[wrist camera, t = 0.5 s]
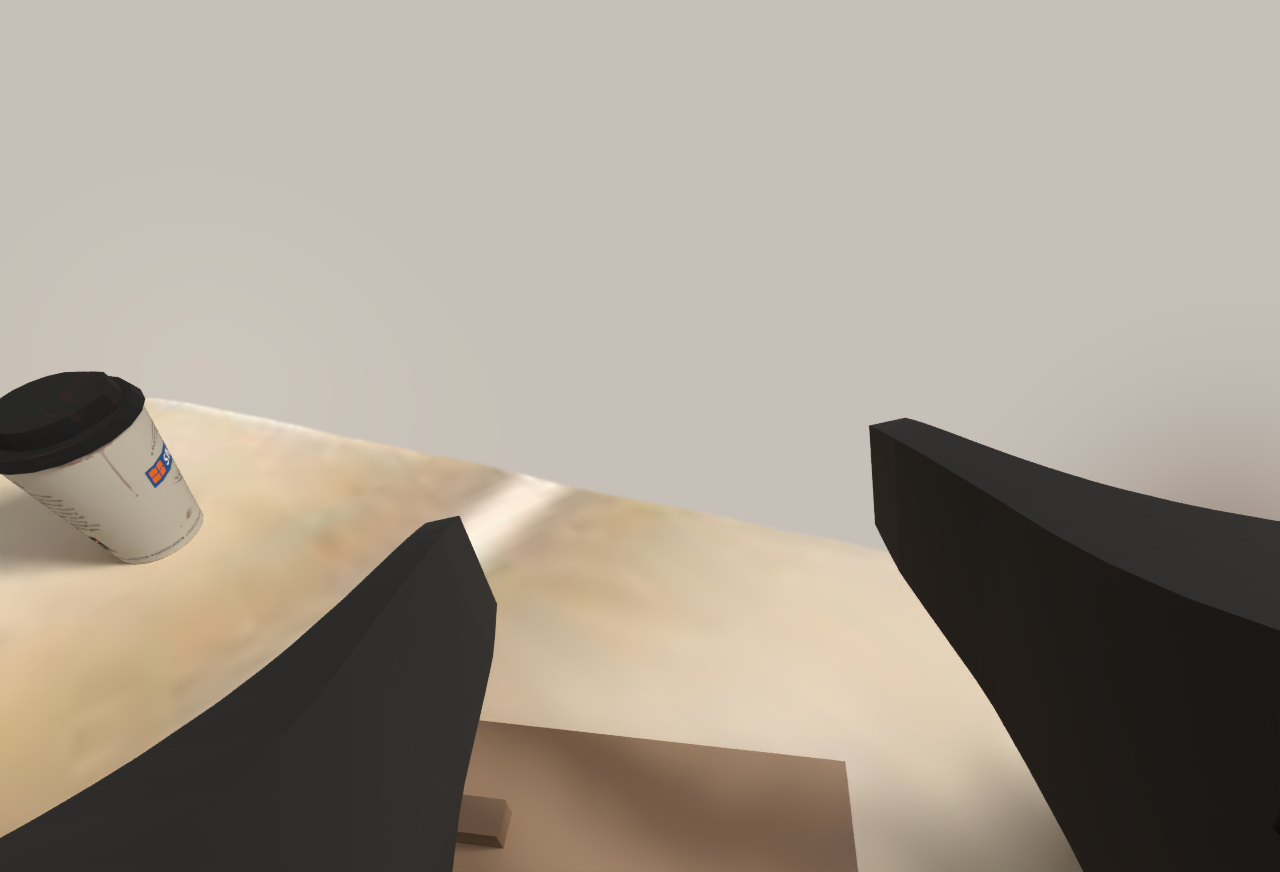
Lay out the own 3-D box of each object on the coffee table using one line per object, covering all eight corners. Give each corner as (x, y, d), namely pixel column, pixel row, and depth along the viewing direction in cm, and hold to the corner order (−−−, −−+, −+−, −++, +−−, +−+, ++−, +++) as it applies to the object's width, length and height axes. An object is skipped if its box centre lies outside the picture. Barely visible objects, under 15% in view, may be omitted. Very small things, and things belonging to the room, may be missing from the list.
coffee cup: (89, 604, 33) (-61, 473, 26) (90, 520, 37) (-37, 389, 31) (232, 544, 36) (129, 412, 29) (218, 472, 40) (126, 343, 33)
